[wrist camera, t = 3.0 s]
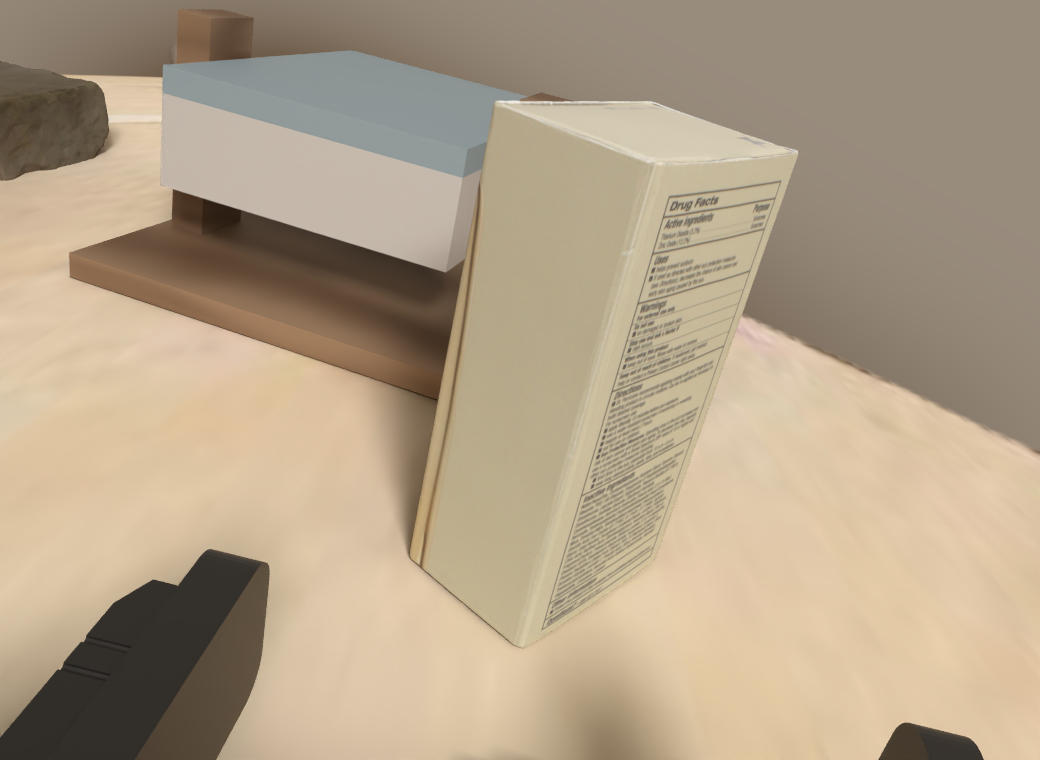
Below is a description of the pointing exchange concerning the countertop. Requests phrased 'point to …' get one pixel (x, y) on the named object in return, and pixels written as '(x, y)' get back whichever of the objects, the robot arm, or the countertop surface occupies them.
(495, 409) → the skincare box
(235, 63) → the trapdoor flap
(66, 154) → the grey brown flat block
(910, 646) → the countertop surface
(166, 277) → the frame
